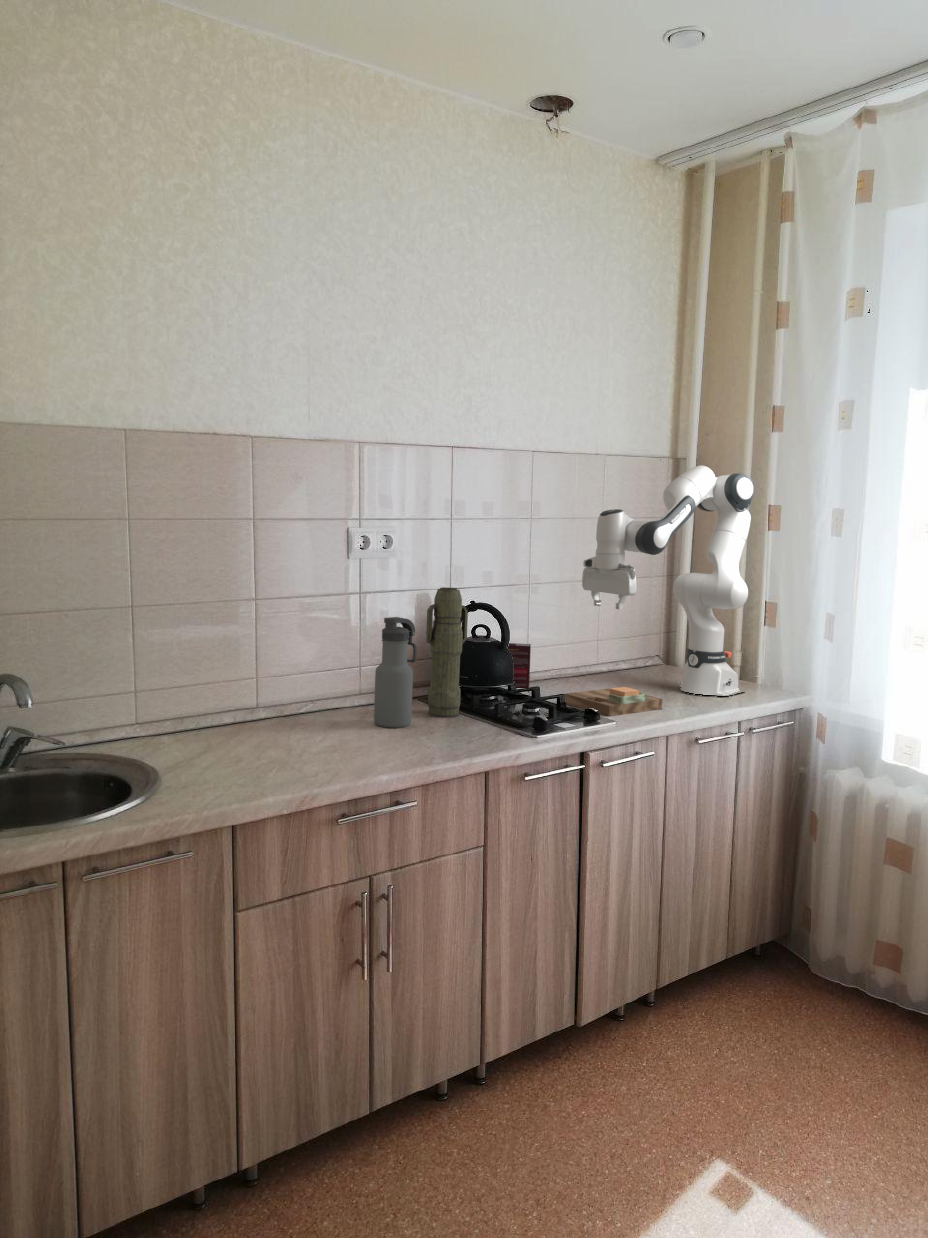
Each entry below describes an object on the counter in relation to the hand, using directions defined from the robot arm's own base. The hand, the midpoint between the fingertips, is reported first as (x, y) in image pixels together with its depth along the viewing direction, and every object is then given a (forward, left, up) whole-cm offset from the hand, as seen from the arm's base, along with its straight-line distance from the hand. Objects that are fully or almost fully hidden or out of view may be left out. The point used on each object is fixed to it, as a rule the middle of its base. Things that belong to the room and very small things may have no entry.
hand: (608, 607), depth 286 cm
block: (+8, +17, -25) cm, 31 cm away
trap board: (+7, +11, -28) cm, 31 cm away
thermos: (+59, -2, -29) cm, 65 cm away
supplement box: (+23, -15, -29) cm, 40 cm away
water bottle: (+78, +2, -29) cm, 83 cm away
